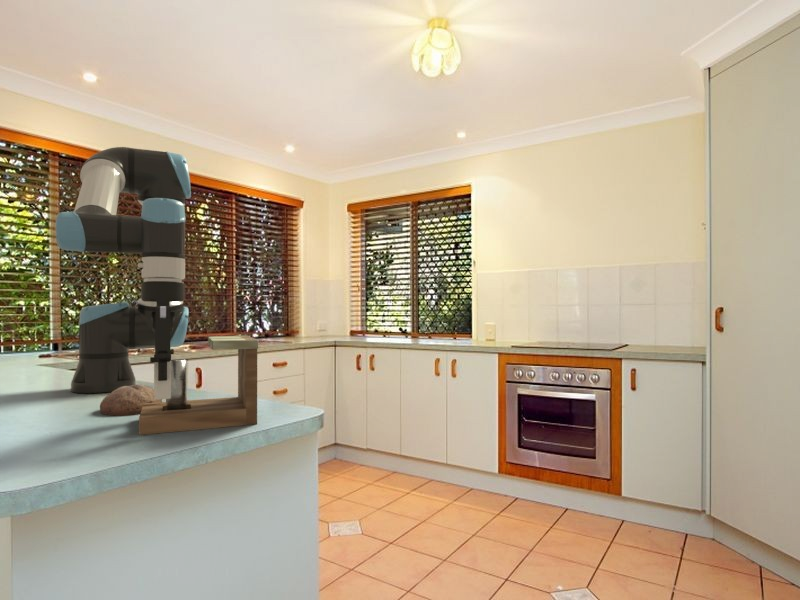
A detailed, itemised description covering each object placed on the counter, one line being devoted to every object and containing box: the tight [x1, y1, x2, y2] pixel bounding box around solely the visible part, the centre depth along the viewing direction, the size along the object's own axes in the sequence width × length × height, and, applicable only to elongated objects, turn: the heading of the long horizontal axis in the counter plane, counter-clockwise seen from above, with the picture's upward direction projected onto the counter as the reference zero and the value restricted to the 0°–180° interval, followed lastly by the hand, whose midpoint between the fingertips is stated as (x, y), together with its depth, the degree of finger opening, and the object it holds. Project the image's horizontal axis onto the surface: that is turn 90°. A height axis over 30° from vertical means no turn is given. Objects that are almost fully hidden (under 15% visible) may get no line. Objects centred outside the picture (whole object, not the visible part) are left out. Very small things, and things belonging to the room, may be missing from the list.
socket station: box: [138, 335, 259, 436], centre depth 99 cm, size 16×20×16 cm
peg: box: [165, 359, 188, 411], centre depth 97 cm, size 4×4×12 cm
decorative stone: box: [99, 384, 163, 416], centre depth 110 cm, size 12×12×6 cm
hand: (162, 392), depth 96 cm, fingers open, 13 cm apart
